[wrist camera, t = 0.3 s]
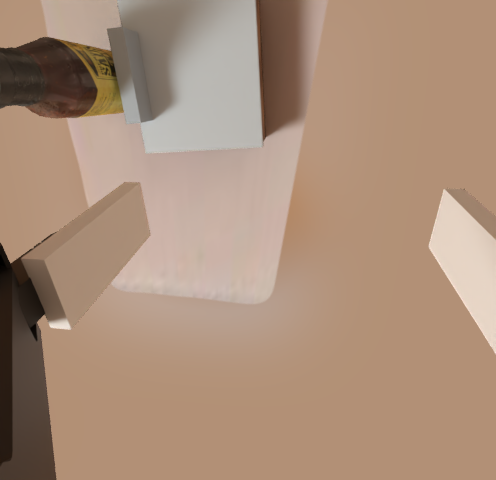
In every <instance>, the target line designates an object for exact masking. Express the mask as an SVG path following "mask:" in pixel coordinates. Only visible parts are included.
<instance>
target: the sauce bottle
mask: <svg viewBox="0 0 496 480" xmlns="http://www.w3.org/2000/svg"><path fill="white" fill-rule="evenodd" d="M11 105H18V106H25V107H26V108H28V109H29V110H30V111H32V112H34V113H36V114H38V115H39V116H43V117H50V118H66V117H67V118H78V117H87V116H97V115H106V114H115V113H123V112H124V110H123V105H122V100H121V95H120V90H119V85H118V81H117V76H116V71H115V66H114V61H113V56H112V51H108V50H104V49H99V48H95V47H91V46H86V45H82V44H78V43H73V42H68V41H63V40H59V39H55V38H50V37H43V38H39V39H38V40H35V41H33V42H30V43H27V44H25V45H22V46H19V47H17V48H0V108H3V107H5V106H11Z"/></svg>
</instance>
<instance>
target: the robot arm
mask: <svg viewBox="0 0 496 480" xmlns="http://www.w3.org/2000/svg"><path fill="white" fill-rule="evenodd" d="M149 236H150V230H149V225H148V220H147V215H146V210H145V205H144V200H143V195H142V190H141V185H140V183H132V182H124V183H123V184H122V185H120V186H119V187H118V188H116V189H115V190H114V191H112V192H111V193H109V194H108V195H107V196H105V197H104V198H103V199H101V200H100V201H99V202H97V203H96V204H94V205H93V206H92V207H90V208H89V209H88V210H86V211H85V212H83V213H82V214H81V215H79V216H78V217H77V218H75V219H74V220H73V221H71V222H70V223H69V224H67V225H66V226H64V227H63V228H62V229H60V230H59V231H57V232H55V233H53V234H51V235H50V236H48V237H47V238H46V239H44V240H43V241H42V242H41V243H38V244H37V245H36V246H34V248H33V249H30V250H29V251H28V252H26V253H25V254H23V255H22V256H21V257H19V258H18V259H17V260H15V261H14V262H13V263H11V264H10V262H9V260H8V258H7V255H6V253H5V251H4V249H3V246H2V245H1V243H0V480H56V472H55V462H54V453H53V444H52V434H51V425H50V415H49V406H48V397H47V387H46V377H45V368H44V360H43V359H44V358H43V349H42V341H41V330H40V328H39V326H38V324H37V321H38V320H39V319H40V318H41V317H42V316H43V315H44V314H45V316H46V318H47V320H48V323H49V325H50V327H51V328H59V329H70V330H72V328H73V327H74V326H75V325H76V324H77V322H78V321H79V320H80V319H81V318H82V316H83V315H84V314H85V313H86V312H87V310H88V309H89V308H90V307H91V306H92V304H93V303H94V302H95V301H96V300H97V298H98V297H99V296H100V295H101V294H102V292H103V291H104V290H105V289H106V288H107V286H108V285H109V284H110V283H111V282H112V281H113V279H114V278H115V277H116V276H117V275H118V273H119V272H120V271H121V270H122V269H123V267H124V266H125V265H126V264H127V263H128V261H129V260H130V259H131V258H132V257H133V255H134V254H135V253H136V252H137V251H138V249H139V248H140V247H141V246H142V245H143V243H144V242H145V241H146V240H147V239H148V237H149ZM429 248H430V250H431V252H432V253H433V255H434V257H435V258H436V260H437V261H438V263H439V264H440V266H441V267H442V269H443V271H444V272H445V274H446V276H447V277H448V279H449V280H450V282H451V283H452V285H453V287H454V288H455V290H456V292H457V293H458V295H459V296H460V298H461V299H462V301H463V303H464V304H465V306H466V307H467V309H468V310H469V312H470V314H471V315H472V317H473V318H474V320H475V322H476V323H477V325H478V327H479V328H480V330H481V331H482V333H483V335H484V336H485V338H486V339H487V341H488V342H489V344H490V346H491V347H492V349H493V350H494V352H495V353H496V216H495V215H494V214H492V213H491V212H490V211H489V210H488V209H487V208H486V207H484V206H483V205H482V204H481V203H480V202H479V201H478V200H476V199H475V198H474V197H473V196H472V195H470V194H469V193H468V192H467V191H466V190H465V189H444V191H443V194H442V199H441V202H440V206H439V209H438V213H437V217H436V221H435V224H434V228H433V232H432V236H431V240H430V243H429Z"/></svg>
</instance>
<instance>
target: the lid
mask: <svg viewBox="0 0 496 480" xmlns="http://www.w3.org/2000/svg"><path fill="white" fill-rule="evenodd" d="M117 4H118V9H119V14H120V19H121V25H122V27H120V28H111V29H107V32H108V37H109V41H110V46H111V51H112V56H113V61H114V66H115V71H116V76H117V81H118V85H119V90H120V95H121V100H122V105H123V110H124V115H125V120H126V124H133V123H140V125H141V131H142V136H143V141H144V146H145V152H146V153H164V152H183V151H201V150H220V149H238V148H257V147H263V129H262V109H261V89H260V69H259V49H258V28H257V8H256V0H117Z"/></svg>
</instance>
